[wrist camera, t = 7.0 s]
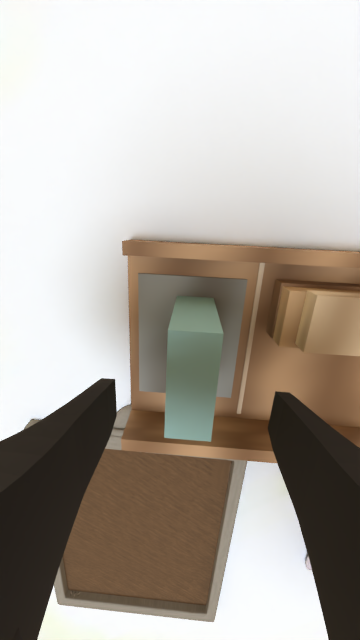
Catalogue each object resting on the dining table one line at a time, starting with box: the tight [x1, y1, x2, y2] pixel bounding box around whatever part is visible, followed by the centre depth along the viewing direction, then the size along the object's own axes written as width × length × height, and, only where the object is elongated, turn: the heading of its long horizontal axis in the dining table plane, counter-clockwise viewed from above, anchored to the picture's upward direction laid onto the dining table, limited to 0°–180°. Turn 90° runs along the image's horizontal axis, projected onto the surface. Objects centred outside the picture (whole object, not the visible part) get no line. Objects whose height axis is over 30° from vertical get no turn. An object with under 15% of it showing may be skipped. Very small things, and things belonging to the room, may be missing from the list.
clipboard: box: [24, 405, 247, 622], centre depth 26 cm, size 19×2×30 cm
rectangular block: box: [164, 296, 224, 442], centre depth 15 cm, size 2×6×6 cm, turn 177°
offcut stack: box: [266, 279, 360, 356], centre depth 15 cm, size 6×4×4 cm, turn 87°
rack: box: [121, 240, 360, 463], centre depth 17 cm, size 18×14×4 cm
